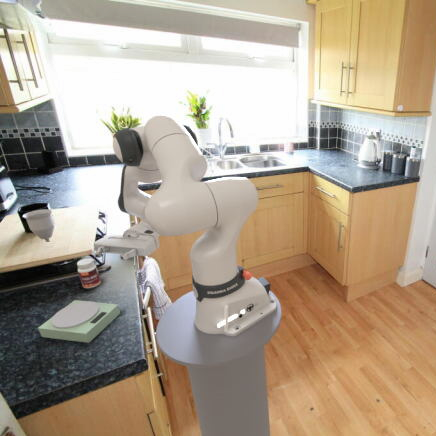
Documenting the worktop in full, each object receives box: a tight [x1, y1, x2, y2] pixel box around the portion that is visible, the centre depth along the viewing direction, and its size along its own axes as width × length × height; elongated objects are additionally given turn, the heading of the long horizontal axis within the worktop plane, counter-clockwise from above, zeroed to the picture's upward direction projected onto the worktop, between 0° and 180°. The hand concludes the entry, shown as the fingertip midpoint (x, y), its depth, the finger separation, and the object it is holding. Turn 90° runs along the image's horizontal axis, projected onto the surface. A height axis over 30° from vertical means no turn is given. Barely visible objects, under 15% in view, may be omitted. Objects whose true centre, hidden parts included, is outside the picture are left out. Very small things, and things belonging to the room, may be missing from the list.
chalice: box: [22, 209, 55, 243], centre depth 108 cm, size 7×7×18 cm
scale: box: [37, 299, 121, 344], centre depth 84 cm, size 11×13×4 cm
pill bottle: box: [76, 257, 102, 289], centre depth 98 cm, size 5×5×8 cm
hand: (109, 257), depth 106 cm, fingers open, 8 cm apart
